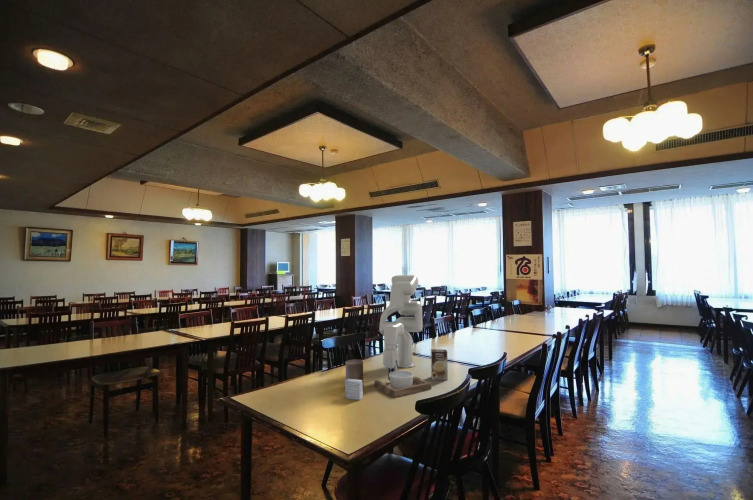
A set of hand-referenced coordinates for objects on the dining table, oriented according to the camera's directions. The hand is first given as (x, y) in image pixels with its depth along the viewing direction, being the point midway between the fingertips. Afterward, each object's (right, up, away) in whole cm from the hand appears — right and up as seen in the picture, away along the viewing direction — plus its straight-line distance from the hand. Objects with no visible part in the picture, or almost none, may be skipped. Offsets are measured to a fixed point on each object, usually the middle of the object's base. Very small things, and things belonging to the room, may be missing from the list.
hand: (391, 379), depth 201 cm
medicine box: (-20, -1, -24) cm, 31 cm away
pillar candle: (-20, -2, -7) cm, 22 cm away
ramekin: (+5, -1, -8) cm, 10 cm away
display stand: (+5, -1, -9) cm, 11 cm away
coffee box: (+28, -2, +6) cm, 29 cm away
